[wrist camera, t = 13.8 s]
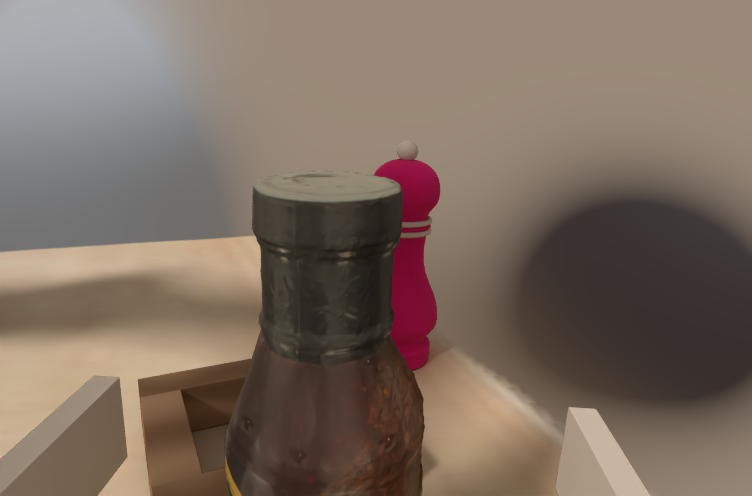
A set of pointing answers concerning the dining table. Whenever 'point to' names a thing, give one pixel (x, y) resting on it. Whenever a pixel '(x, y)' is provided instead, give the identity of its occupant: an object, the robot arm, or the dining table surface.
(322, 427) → the sauce bottle
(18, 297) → the dining table surface
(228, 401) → the bottle holder
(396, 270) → the pepper mill
